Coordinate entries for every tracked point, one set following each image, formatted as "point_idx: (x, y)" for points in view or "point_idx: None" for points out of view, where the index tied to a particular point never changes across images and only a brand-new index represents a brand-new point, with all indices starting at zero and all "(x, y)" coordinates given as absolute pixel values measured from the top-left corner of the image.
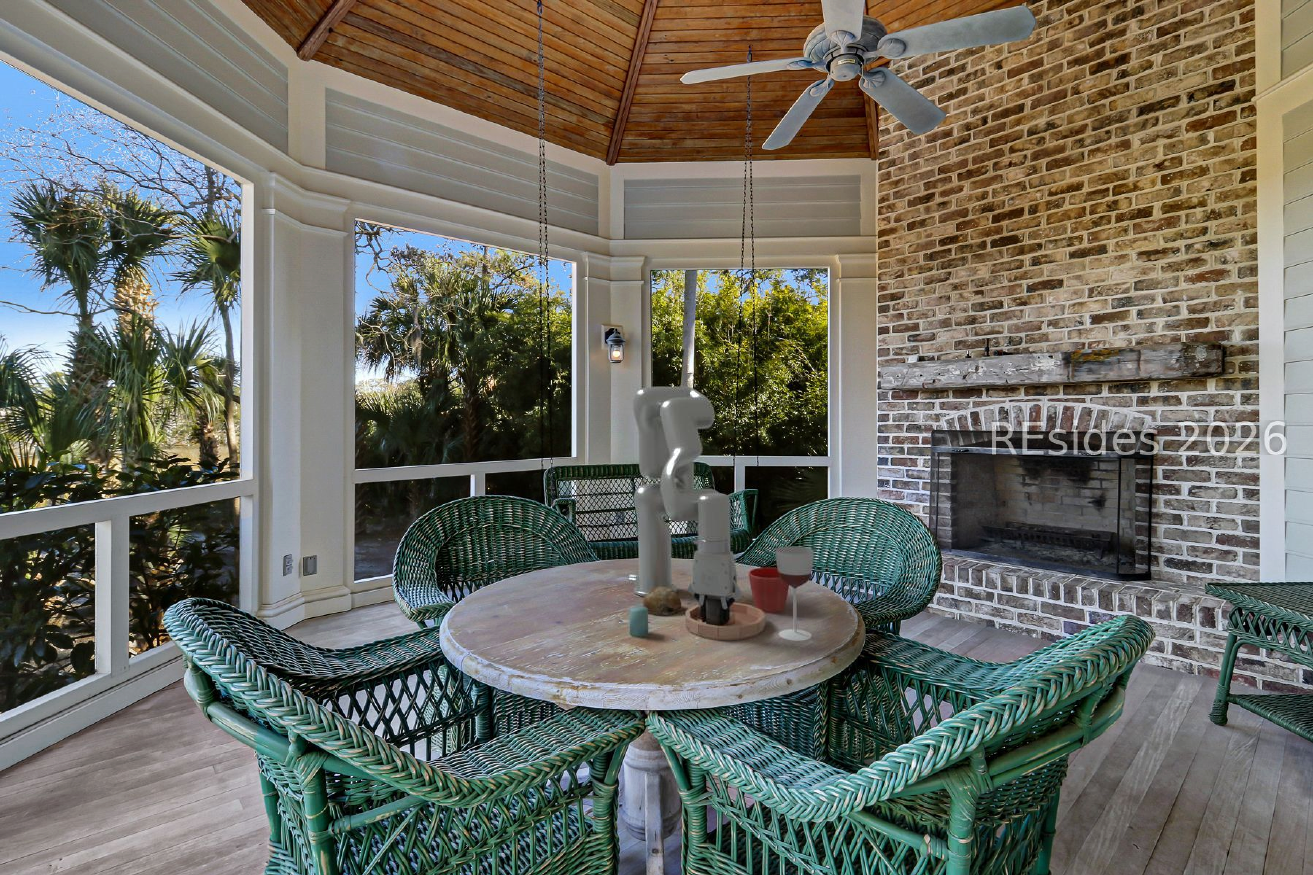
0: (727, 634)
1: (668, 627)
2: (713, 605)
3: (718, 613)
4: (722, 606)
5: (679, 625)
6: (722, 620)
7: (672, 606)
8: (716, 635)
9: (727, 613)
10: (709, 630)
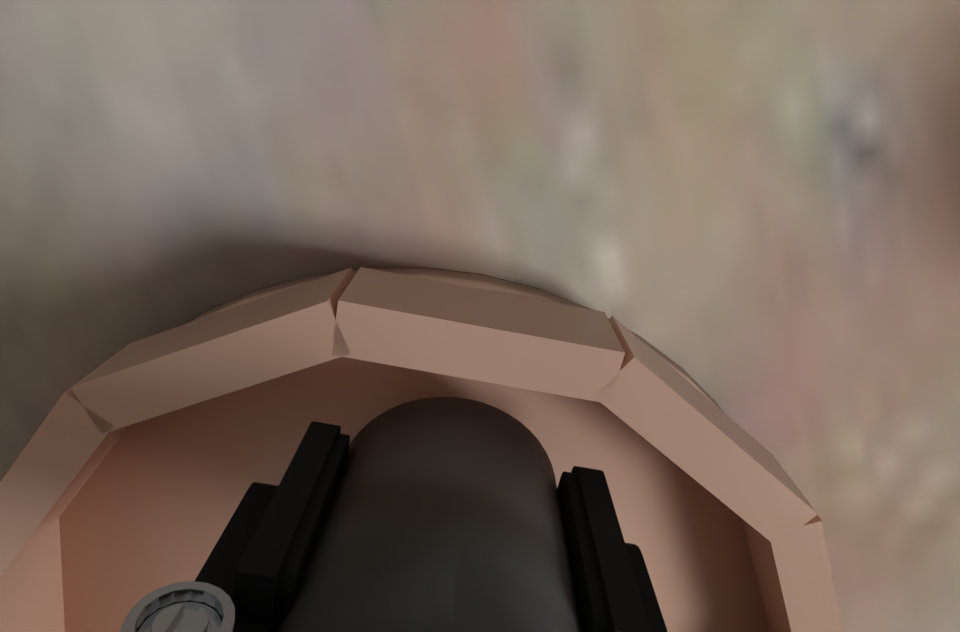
0: (250, 304)
1: (957, 466)
2: (399, 608)
3: (343, 523)
4: (229, 621)
5: (847, 538)
6: (302, 454)
7: None
8: (378, 273)
9: (213, 559)
10: (465, 303)
